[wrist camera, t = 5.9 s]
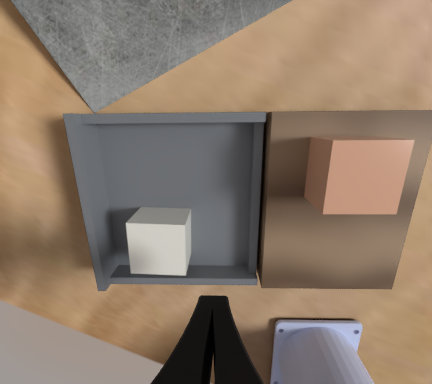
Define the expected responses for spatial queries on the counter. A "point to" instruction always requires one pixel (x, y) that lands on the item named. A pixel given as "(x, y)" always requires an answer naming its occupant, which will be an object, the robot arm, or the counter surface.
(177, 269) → the pale grey cube
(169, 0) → the meat cleaver
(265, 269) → the walnut board
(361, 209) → the peach matte cube
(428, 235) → the counter surface
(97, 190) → the charcoal tray
